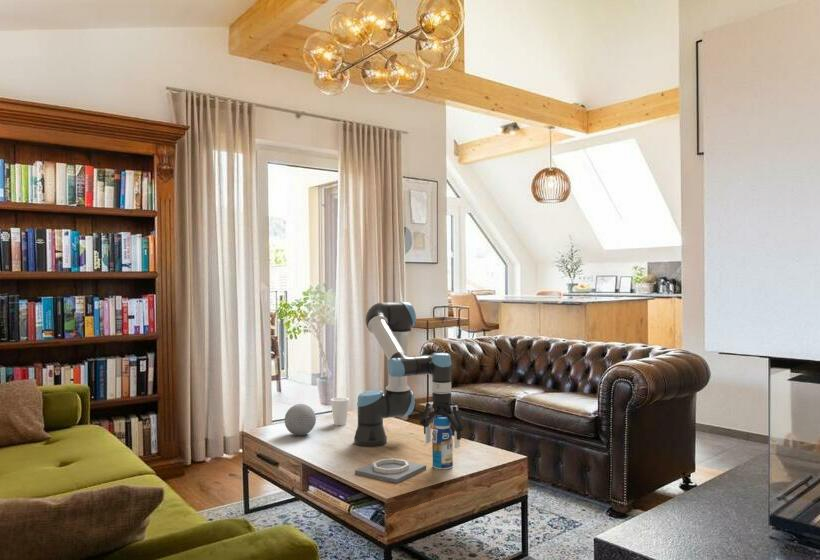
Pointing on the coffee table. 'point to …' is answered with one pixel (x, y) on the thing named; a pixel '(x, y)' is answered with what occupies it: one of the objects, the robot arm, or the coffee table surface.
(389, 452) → the coffee table surface
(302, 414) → the decorative ball
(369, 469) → the slate plate
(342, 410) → the foam cup
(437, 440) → the beverage bottle
